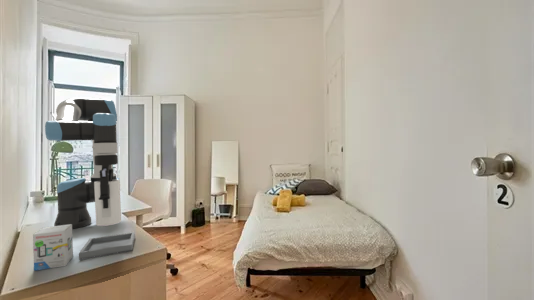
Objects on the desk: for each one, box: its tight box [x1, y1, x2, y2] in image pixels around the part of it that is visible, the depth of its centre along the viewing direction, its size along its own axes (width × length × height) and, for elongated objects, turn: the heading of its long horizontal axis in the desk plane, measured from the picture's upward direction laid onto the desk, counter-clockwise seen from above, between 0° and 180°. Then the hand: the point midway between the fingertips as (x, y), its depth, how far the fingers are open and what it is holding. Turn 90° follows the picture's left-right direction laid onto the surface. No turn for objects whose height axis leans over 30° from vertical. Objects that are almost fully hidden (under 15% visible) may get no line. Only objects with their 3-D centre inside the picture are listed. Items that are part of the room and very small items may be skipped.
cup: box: [94, 179, 122, 227], centre depth 99 cm, size 8×8×16 cm
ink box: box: [32, 224, 74, 271], centre depth 87 cm, size 8×8×12 cm
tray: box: [78, 231, 136, 261], centre depth 100 cm, size 16×16×2 cm
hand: (108, 214), depth 99 cm, fingers closed on cup, 8 cm apart
